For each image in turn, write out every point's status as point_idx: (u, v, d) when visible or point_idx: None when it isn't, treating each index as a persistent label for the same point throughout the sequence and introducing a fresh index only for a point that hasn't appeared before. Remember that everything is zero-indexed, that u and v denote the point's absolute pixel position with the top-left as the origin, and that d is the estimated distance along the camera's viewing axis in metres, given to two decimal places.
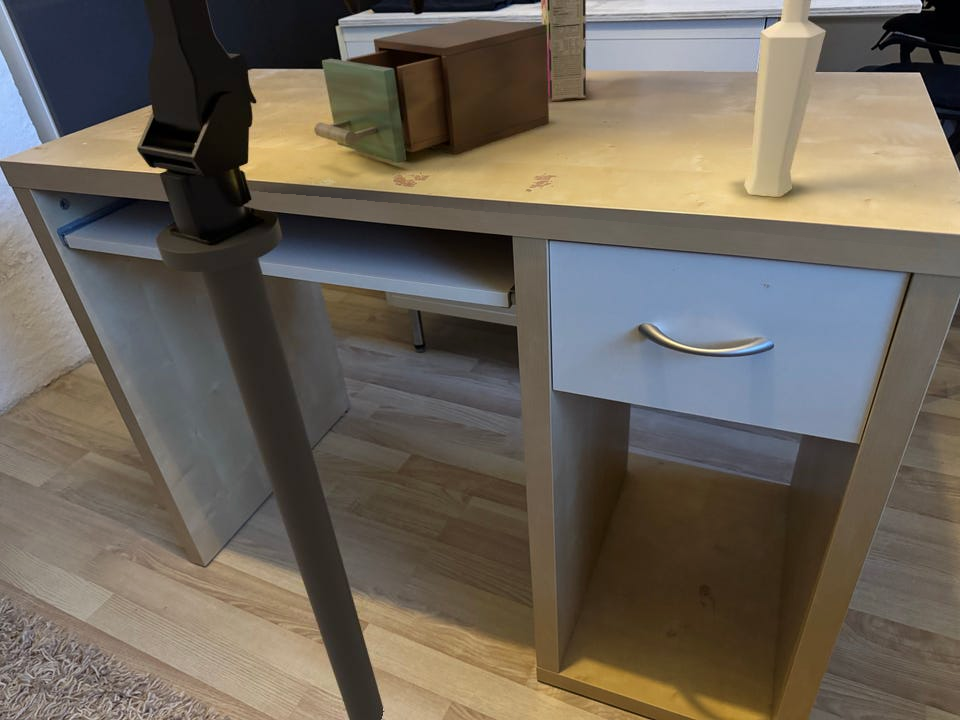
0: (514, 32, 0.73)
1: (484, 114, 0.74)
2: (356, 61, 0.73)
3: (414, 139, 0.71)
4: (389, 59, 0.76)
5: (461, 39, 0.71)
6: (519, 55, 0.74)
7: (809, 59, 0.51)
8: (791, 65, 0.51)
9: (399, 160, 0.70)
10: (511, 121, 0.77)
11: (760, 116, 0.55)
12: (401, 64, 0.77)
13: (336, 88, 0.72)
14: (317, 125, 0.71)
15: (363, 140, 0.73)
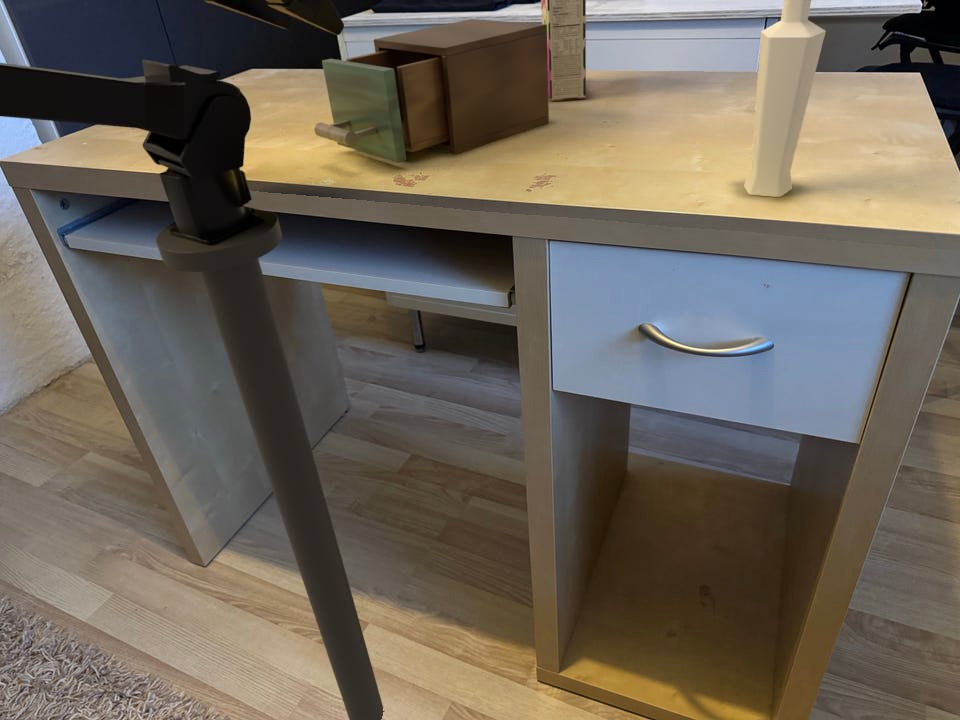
0: (514, 32, 0.73)
1: (484, 114, 0.74)
2: (356, 61, 0.73)
3: (414, 139, 0.71)
4: (389, 59, 0.76)
5: (461, 39, 0.71)
6: (519, 55, 0.74)
7: (809, 59, 0.51)
8: (791, 65, 0.51)
9: (399, 160, 0.70)
10: (511, 121, 0.77)
11: (760, 116, 0.55)
12: (401, 64, 0.77)
13: (336, 88, 0.72)
14: (317, 125, 0.71)
15: (363, 140, 0.73)
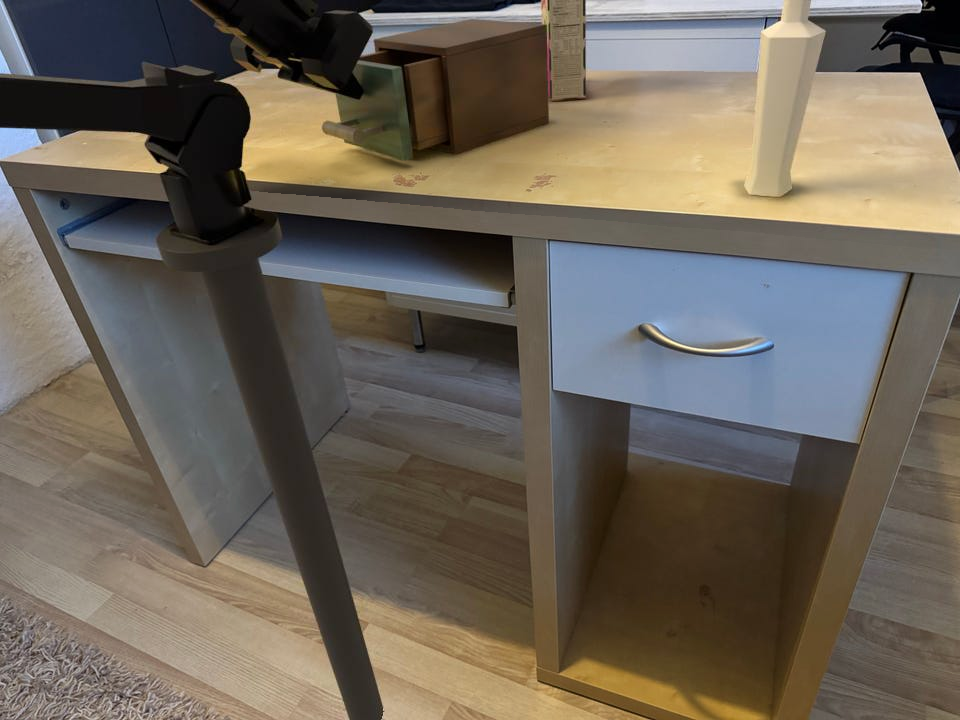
0: (514, 32, 0.73)
1: (484, 114, 0.74)
2: (363, 59, 0.74)
3: (421, 137, 0.71)
4: (395, 58, 0.76)
5: (461, 39, 0.71)
6: (519, 55, 0.74)
7: (809, 59, 0.51)
8: (791, 65, 0.51)
9: (406, 158, 0.70)
10: (511, 121, 0.77)
11: (760, 116, 0.55)
12: (407, 63, 0.77)
13: None
14: (324, 123, 0.72)
15: (370, 138, 0.73)
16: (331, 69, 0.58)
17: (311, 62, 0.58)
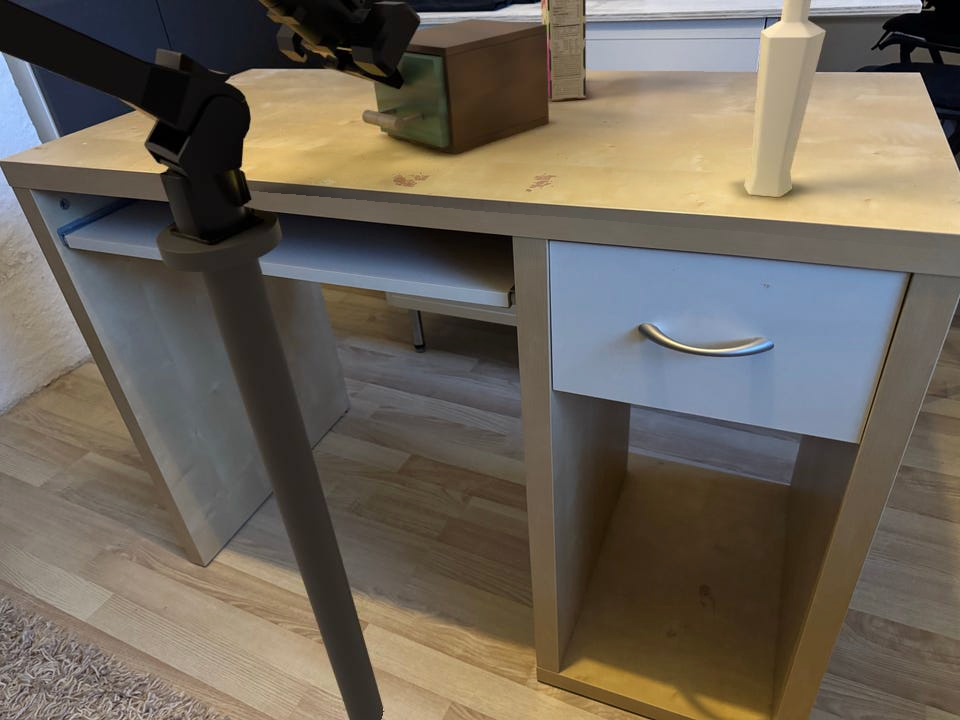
0: (514, 32, 0.73)
1: (484, 114, 0.74)
2: None
3: None
4: None
5: (461, 39, 0.71)
6: (519, 55, 0.74)
7: (809, 59, 0.51)
8: (791, 65, 0.51)
9: (444, 145, 0.73)
10: (511, 121, 0.77)
11: (760, 116, 0.55)
12: None
13: None
14: (365, 112, 0.74)
15: (408, 127, 0.76)
16: (381, 56, 0.60)
17: (362, 50, 0.61)
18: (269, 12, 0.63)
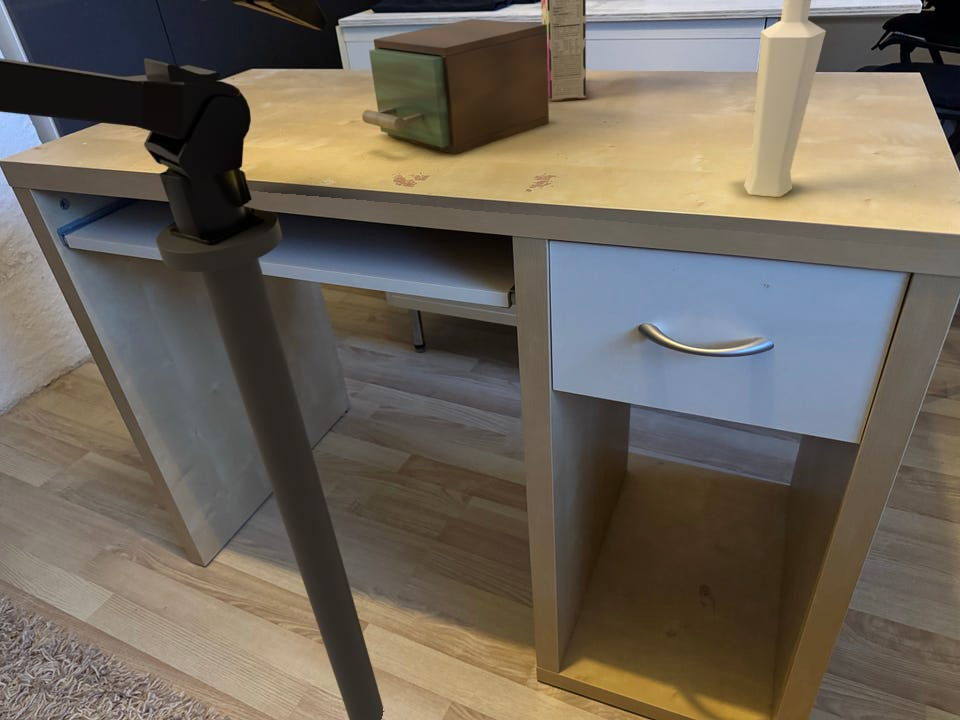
0: (514, 32, 0.73)
1: (484, 114, 0.74)
2: (401, 51, 0.76)
3: None
4: None
5: (461, 39, 0.71)
6: (519, 55, 0.74)
7: (809, 59, 0.51)
8: (791, 65, 0.51)
9: (444, 145, 0.73)
10: (511, 121, 0.77)
11: (760, 116, 0.55)
12: None
13: (383, 77, 0.75)
14: (365, 112, 0.74)
15: (408, 127, 0.76)
16: None
17: None
18: None
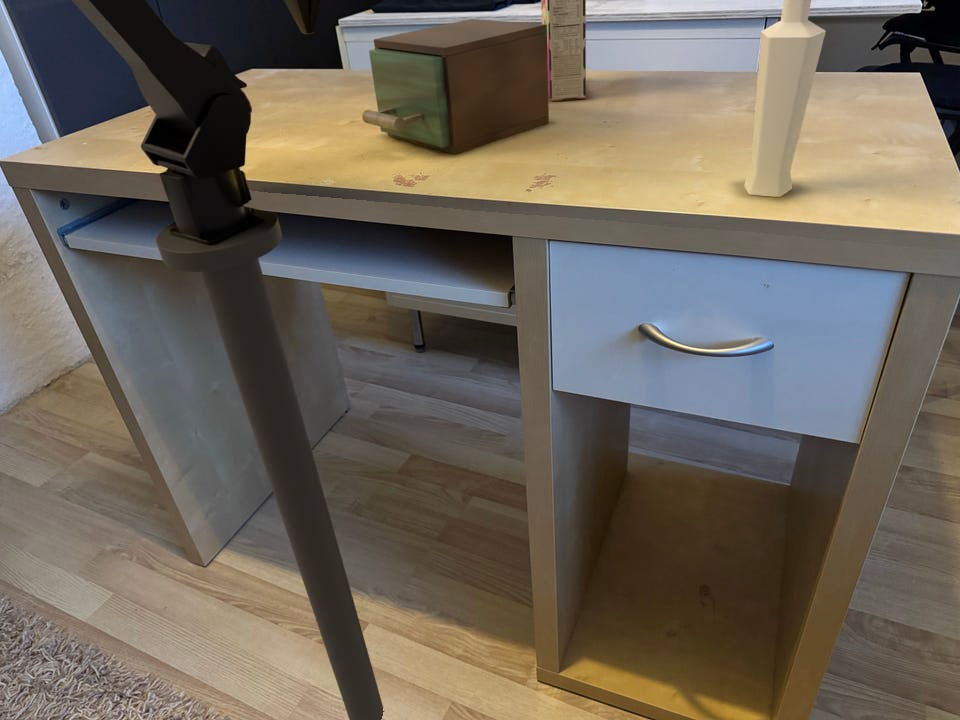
0: (514, 32, 0.73)
1: (484, 114, 0.74)
2: (401, 51, 0.76)
3: None
4: None
5: (461, 39, 0.71)
6: (519, 55, 0.74)
7: (809, 59, 0.51)
8: (791, 65, 0.51)
9: (444, 145, 0.73)
10: (511, 121, 0.77)
11: (760, 116, 0.55)
12: None
13: (383, 77, 0.75)
14: (365, 112, 0.74)
15: (408, 127, 0.76)
16: None
17: None
18: None
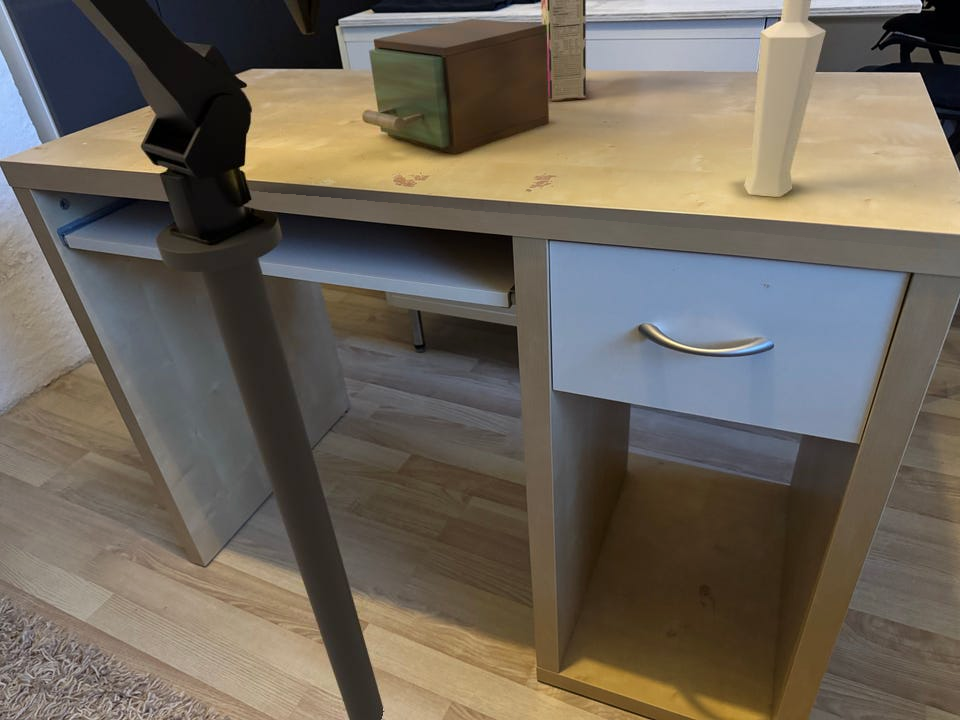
0: (514, 32, 0.73)
1: (484, 114, 0.74)
2: (401, 51, 0.76)
3: None
4: None
5: (461, 39, 0.71)
6: (519, 55, 0.74)
7: (809, 59, 0.51)
8: (791, 65, 0.51)
9: (444, 145, 0.73)
10: (511, 121, 0.77)
11: (760, 116, 0.55)
12: None
13: (383, 77, 0.75)
14: (365, 112, 0.74)
15: (408, 127, 0.76)
16: None
17: None
18: None
